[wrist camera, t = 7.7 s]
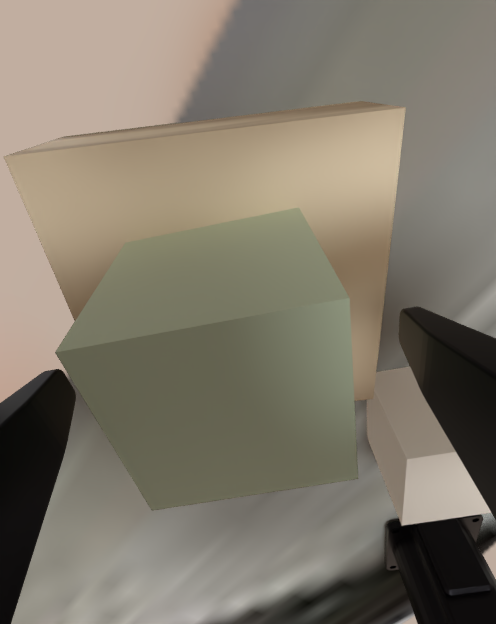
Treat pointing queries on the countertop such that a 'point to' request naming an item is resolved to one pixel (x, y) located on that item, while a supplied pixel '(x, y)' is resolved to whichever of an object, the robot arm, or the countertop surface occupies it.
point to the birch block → (226, 195)
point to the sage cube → (221, 362)
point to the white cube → (417, 454)
